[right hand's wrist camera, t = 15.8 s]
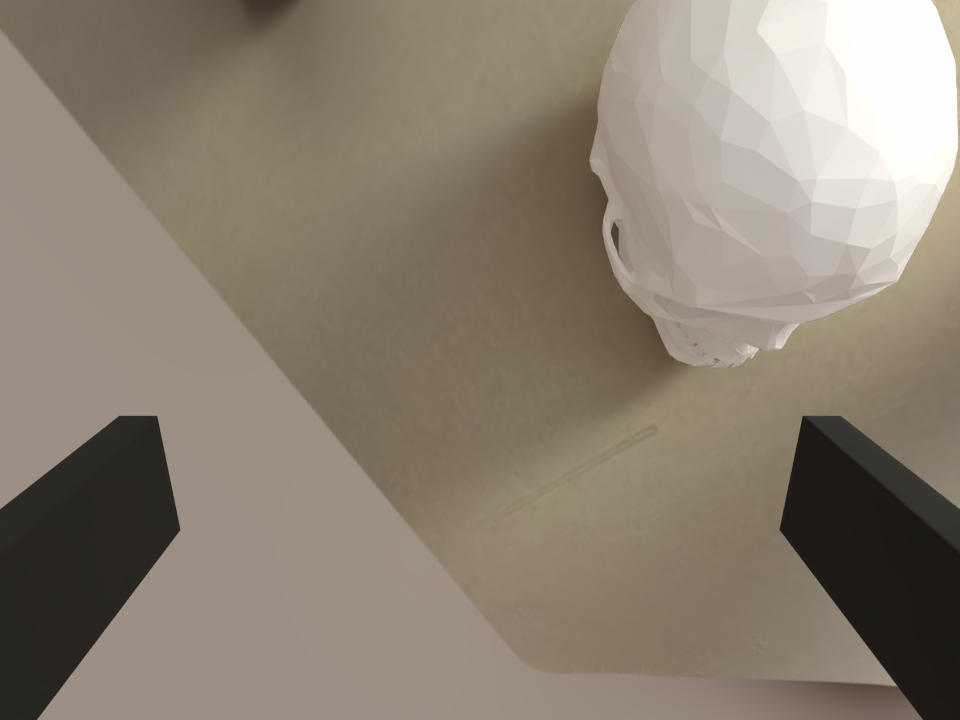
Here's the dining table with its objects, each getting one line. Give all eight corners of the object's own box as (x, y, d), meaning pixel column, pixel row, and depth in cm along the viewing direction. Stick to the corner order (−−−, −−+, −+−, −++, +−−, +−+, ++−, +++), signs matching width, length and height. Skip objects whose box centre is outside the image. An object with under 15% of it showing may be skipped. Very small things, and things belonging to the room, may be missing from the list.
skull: (604, 374, 40) (695, 515, 25) (552, 0, 32) (637, -117, 18) (806, 333, 40) (1020, 451, 25) (800, -55, 32) (1102, -223, 17)
